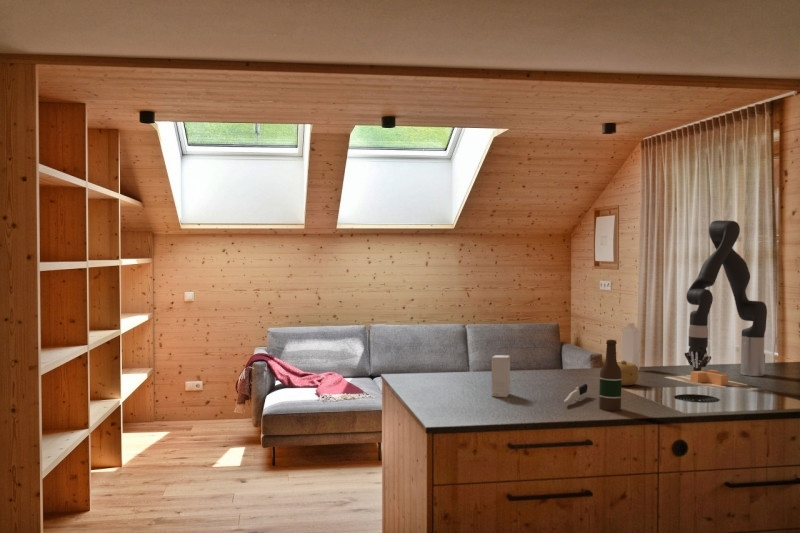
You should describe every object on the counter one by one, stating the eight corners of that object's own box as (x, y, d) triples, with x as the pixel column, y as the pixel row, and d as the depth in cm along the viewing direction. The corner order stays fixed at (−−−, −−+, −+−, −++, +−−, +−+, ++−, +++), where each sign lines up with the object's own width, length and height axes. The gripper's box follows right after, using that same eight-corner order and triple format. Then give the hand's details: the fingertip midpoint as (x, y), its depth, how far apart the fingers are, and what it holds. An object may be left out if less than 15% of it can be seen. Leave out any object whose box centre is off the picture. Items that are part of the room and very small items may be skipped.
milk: (639, 371, 332) (640, 323, 331) (632, 372, 328) (633, 323, 327) (627, 369, 336) (628, 321, 336) (620, 370, 332) (621, 322, 331)
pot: (626, 381, 304) (627, 357, 304) (644, 386, 293) (644, 362, 293) (602, 382, 301) (603, 358, 301) (619, 388, 290) (619, 363, 289)
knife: (565, 408, 251) (566, 394, 251) (561, 407, 252) (561, 393, 252) (588, 396, 272) (588, 383, 272) (583, 395, 273) (583, 382, 273)
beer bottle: (595, 406, 255) (596, 338, 254) (616, 406, 255) (618, 338, 255) (603, 411, 247) (604, 341, 246) (625, 411, 248) (626, 341, 247)
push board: (698, 376, 318) (698, 374, 318) (748, 387, 295) (749, 384, 295) (664, 379, 310) (664, 377, 310) (713, 390, 286) (713, 388, 286)
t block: (711, 379, 306) (712, 369, 306) (735, 384, 296) (735, 374, 295) (690, 381, 302) (690, 371, 302) (713, 386, 291) (713, 376, 291)
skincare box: (506, 397, 268) (507, 357, 267) (490, 396, 270) (491, 356, 269) (510, 393, 276) (511, 354, 275) (494, 392, 278) (495, 353, 277)
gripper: (717, 337, 301) (716, 378, 302) (692, 333, 313) (691, 373, 314) (704, 338, 298) (702, 379, 299) (679, 334, 310) (678, 374, 311)
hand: (697, 376), depth 306 cm, fingers closed
